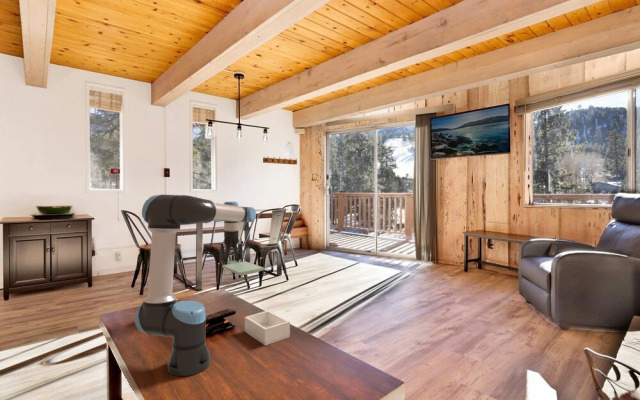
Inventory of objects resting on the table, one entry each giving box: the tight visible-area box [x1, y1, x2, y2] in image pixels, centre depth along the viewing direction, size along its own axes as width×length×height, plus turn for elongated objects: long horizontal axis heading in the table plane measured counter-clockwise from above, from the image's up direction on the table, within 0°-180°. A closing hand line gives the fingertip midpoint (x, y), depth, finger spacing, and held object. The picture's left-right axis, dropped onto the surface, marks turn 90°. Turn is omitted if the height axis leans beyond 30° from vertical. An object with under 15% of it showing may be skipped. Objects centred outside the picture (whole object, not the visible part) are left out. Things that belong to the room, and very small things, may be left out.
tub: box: [244, 310, 291, 346], centre depth 154 cm, size 18×13×7 cm
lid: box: [222, 260, 265, 276], centre depth 173 cm, size 25×14×2 cm, turn 41°
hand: (231, 273), depth 181 cm, fingers closed on lid, 4 cm apart
